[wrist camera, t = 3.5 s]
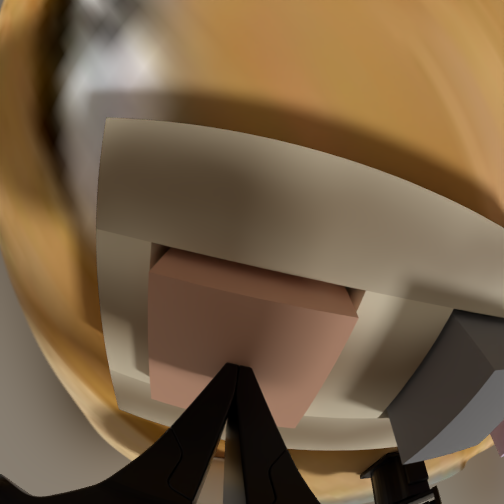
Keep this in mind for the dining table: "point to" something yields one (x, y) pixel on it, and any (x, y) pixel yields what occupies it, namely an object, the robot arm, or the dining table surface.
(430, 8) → the dining table surface
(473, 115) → the dining table surface
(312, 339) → the terracotta button
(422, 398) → the charcoal button
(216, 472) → the lidded jar
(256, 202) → the button console
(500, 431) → the mauve piece
